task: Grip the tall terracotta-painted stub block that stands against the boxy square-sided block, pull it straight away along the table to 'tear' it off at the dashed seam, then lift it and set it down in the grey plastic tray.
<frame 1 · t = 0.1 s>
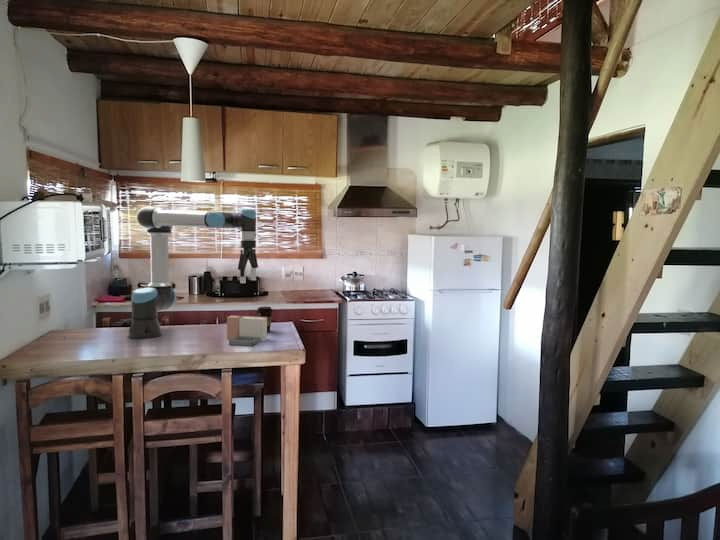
hand: (248, 281, 244), 28 cm above the table, fingers open, 13 cm apart
tray: (244, 343, 230), on the table
coffee cup: (264, 331, 257), on the table
boxy square-sided block: (253, 339, 238), on the table
stub: (234, 338, 240), on the table
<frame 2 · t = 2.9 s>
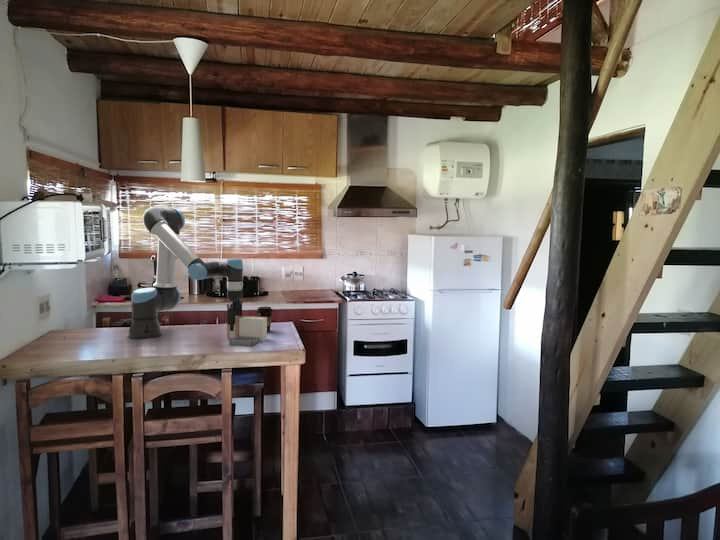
hand: (234, 335, 240), 1 cm above the table, fingers closed on stub, 5 cm apart
stub: (234, 338, 240), on the table, touching gripper
everything else where it was.
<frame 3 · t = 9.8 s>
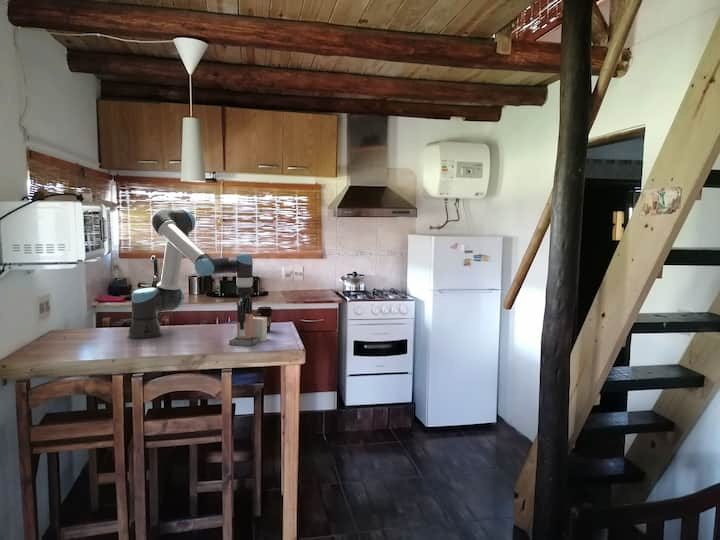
hand: (245, 334, 229), 4 cm above the table, fingers closed on stub, 5 cm apart
stub: (245, 337, 229), point 3 cm above the table, touching gripper
everything else where it was.
when the fingers open (4 cm above the table, at t = 10.2 s): stub drops 2 cm, resting on tray.
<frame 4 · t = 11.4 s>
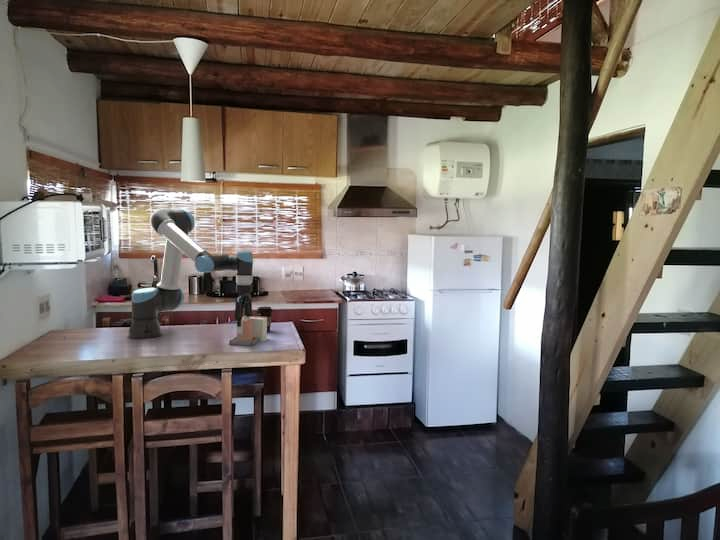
hand: (243, 331, 229), 6 cm above the table, fingers open, 8 cm apart
stub: (245, 342, 229), point 1 cm above the table, touching tray
everything else where it was.
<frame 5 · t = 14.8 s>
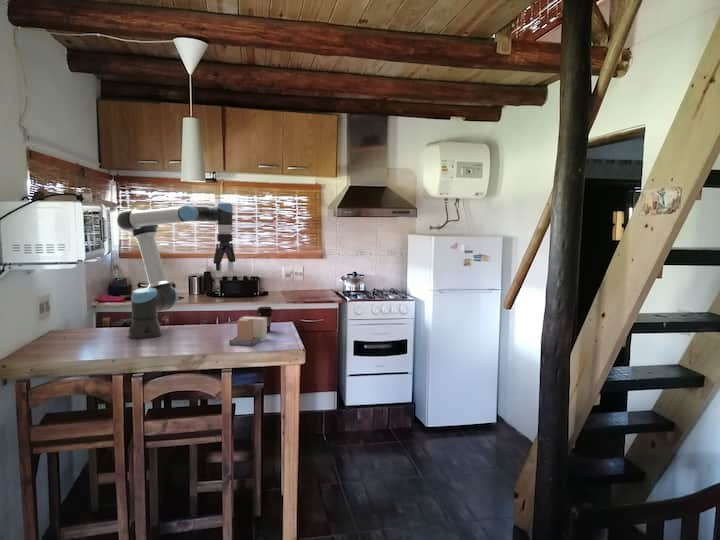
hand: (224, 275, 243), 31 cm above the table, fingers open, 13 cm apart
nothing on the table moved.
at the end: stub inside the target area on the tray (1.0 cm from its centre), point 0.6 cm above the tray's base; stub moved 13.0 cm from its start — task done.
